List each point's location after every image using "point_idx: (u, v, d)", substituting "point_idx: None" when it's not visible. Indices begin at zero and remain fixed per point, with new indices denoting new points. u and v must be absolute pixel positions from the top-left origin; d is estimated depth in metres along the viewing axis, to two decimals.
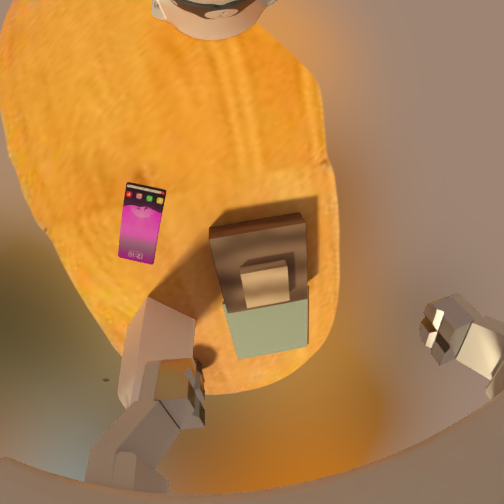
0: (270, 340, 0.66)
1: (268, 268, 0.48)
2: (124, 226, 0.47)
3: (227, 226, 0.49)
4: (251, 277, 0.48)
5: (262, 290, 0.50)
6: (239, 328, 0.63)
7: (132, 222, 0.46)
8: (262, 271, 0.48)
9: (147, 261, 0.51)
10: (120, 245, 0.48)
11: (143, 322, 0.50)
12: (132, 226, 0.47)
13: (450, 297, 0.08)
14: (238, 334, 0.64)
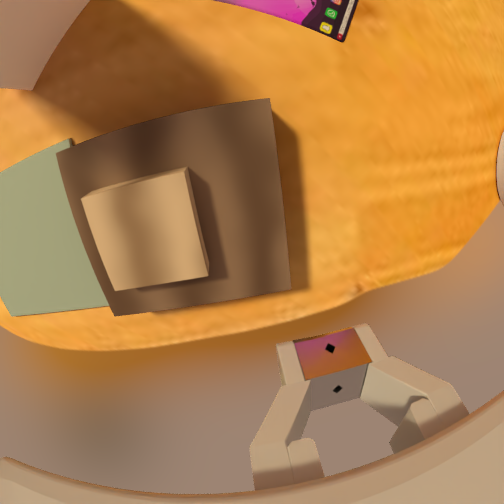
0: (3, 252, 0.24)
1: (199, 236, 0.20)
2: None
3: None
4: (174, 199, 0.18)
5: (136, 230, 0.19)
6: (16, 186, 0.21)
7: None
8: (193, 224, 0.19)
9: None
10: None
11: None
12: None
13: (352, 329, 0.08)
14: (4, 186, 0.20)
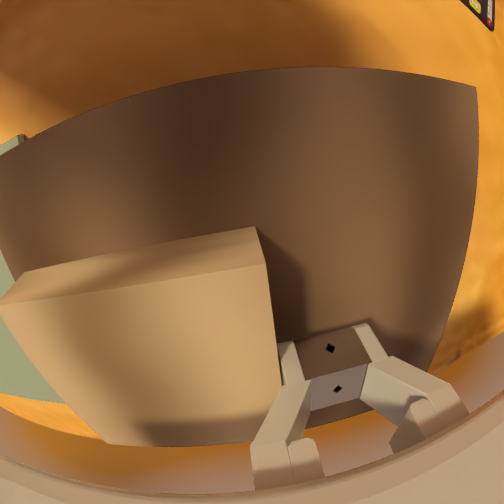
0: None
1: None
2: None
3: None
4: (230, 334, 0.07)
5: (131, 384, 0.07)
6: None
7: None
8: (275, 376, 0.07)
9: None
10: None
11: None
12: None
13: (352, 329, 0.08)
14: None
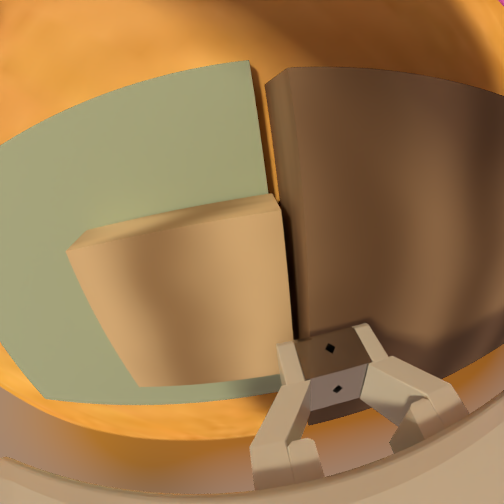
0: (24, 309, 0.12)
1: None
2: None
3: None
4: (256, 262, 0.10)
5: (175, 311, 0.10)
6: (60, 166, 0.09)
7: None
8: (286, 303, 0.11)
9: None
10: None
11: None
12: None
13: (352, 329, 0.08)
14: (25, 168, 0.09)
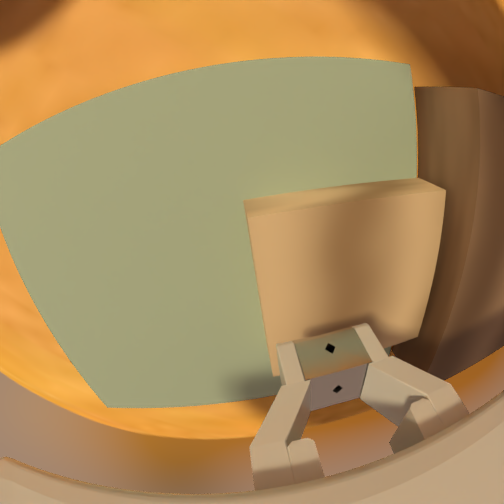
0: (115, 301, 0.12)
1: None
2: None
3: None
4: (424, 233, 0.10)
5: (353, 283, 0.11)
6: (220, 123, 0.09)
7: None
8: (433, 270, 0.11)
9: None
10: None
11: None
12: None
13: (352, 329, 0.08)
14: (163, 120, 0.09)
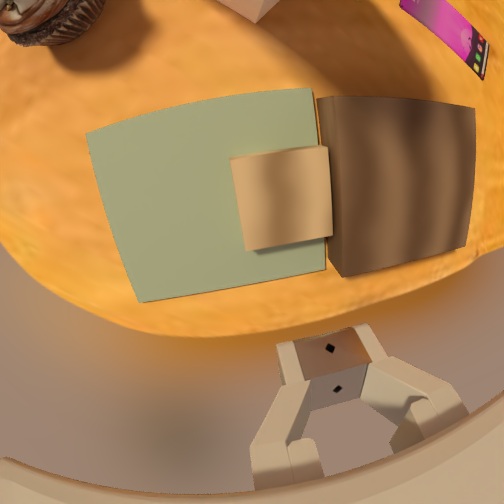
0: (161, 211, 0.24)
1: None
2: (450, 7, 0.16)
3: None
4: (317, 168, 0.22)
5: (281, 192, 0.23)
6: (219, 123, 0.22)
7: (455, 20, 0.17)
8: (329, 190, 0.23)
9: (405, 1, 0.17)
10: None
11: None
12: (451, 16, 0.17)
13: (352, 329, 0.08)
14: (193, 122, 0.21)
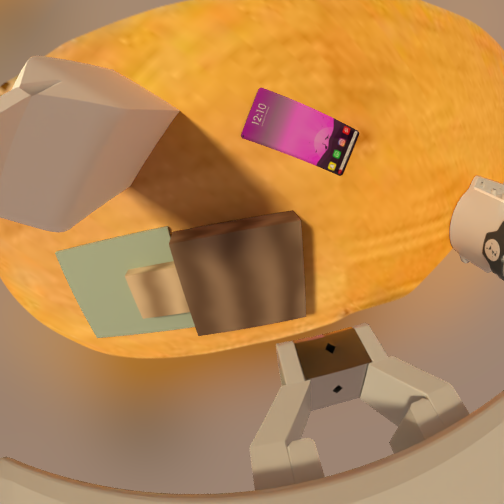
0: (100, 294, 0.41)
1: None
2: (306, 111, 0.33)
3: None
4: (172, 278, 0.39)
5: (154, 291, 0.40)
6: (119, 252, 0.38)
7: (310, 124, 0.34)
8: (181, 289, 0.40)
9: (247, 129, 0.33)
10: (278, 96, 0.32)
11: (165, 111, 0.25)
12: (304, 122, 0.34)
13: (352, 329, 0.08)
14: (107, 251, 0.38)
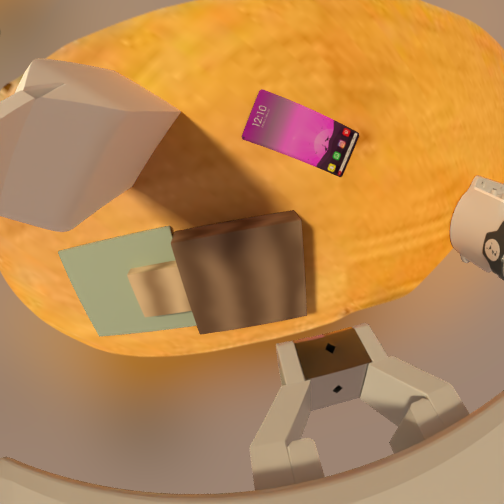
0: (102, 293, 0.42)
1: None
2: (306, 113, 0.33)
3: None
4: (174, 277, 0.40)
5: (156, 290, 0.40)
6: (121, 251, 0.39)
7: (310, 126, 0.34)
8: (183, 288, 0.41)
9: (247, 131, 0.34)
10: (278, 98, 0.32)
11: (167, 112, 0.26)
12: (305, 124, 0.34)
13: (352, 329, 0.08)
14: (109, 250, 0.39)
